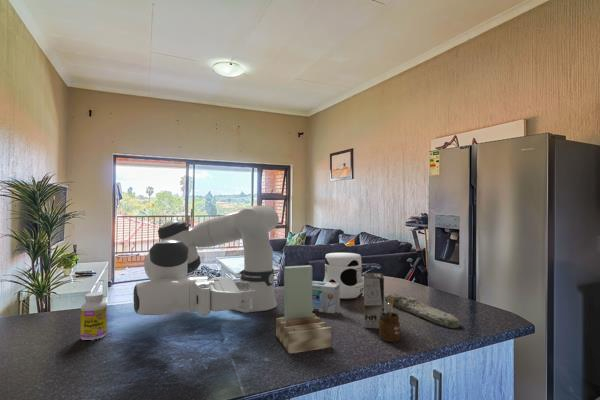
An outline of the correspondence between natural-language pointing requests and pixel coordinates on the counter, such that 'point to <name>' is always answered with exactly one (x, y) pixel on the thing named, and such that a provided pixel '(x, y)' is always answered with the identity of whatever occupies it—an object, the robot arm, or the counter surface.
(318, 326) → the oak offcut
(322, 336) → the birch rack
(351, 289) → the spotted cookie jar
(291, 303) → the tall panel
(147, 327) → the counter surface
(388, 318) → the utensil holder
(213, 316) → the counter surface
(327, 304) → the light bulb box
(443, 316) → the elongated rock
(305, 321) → the walnut offcut
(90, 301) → the supplement bottle
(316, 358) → the counter surface
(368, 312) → the coffee box
